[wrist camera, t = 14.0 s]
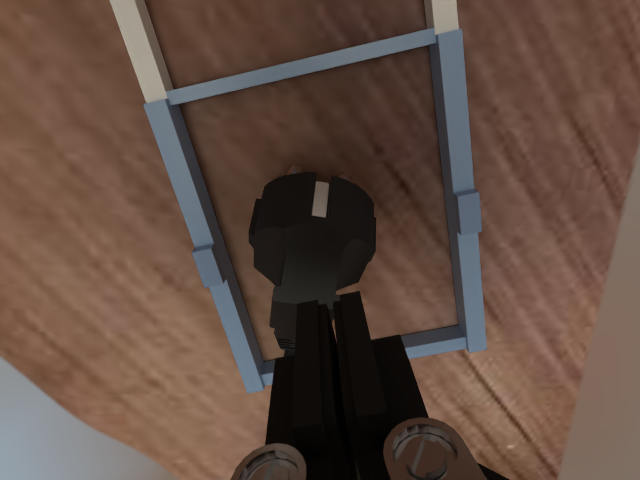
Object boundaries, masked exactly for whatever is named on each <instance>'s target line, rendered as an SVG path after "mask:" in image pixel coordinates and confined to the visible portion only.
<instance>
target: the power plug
mask: <svg viewBox="0 0 640 480" xmlns="http://www.w3.org/2000/svg"><path fill="white" fill-rule="evenodd" d="M315 180H316V173H315V172H304V173H302V169H301V167H300V166H298V165H291V166H290V167H289V168H288V170H287V175H285V176H282V177H279V178H277V179H275V180H273V181H271V182H270V183H268V184H267V185H266V186H265V187H264V191H263V195H262V199H256V202H255V206H254V210H253V215H252V219H251V224H250V228H249V243H250V245H251V246H252V247H253V248H254V267H255V268H256V269H257V270H258V271H259V272H261V273H262V274H263V275H264V276H265V277H267V278H268V279H269V280H270V281H271V282H272V283H273V284H274V285H275V287H274V290H273V297H272V306H271V315H270V327H272V328H275V331H274V334H275V337H276V339H277V342H278V344H279V347H280V348H281V349H283V350H285V352H284V357H286V356H292V355H295V337H296V316H297V304H298V303H302V302H307V301H312V300H317V299H318V301H319V305H320V304H325V303H327V306H328V310H329V314H330V318H331V322H332V321H333V319H334V311H333V302H335V301H340V295H336V294H335V293H336V291H337V290H339V289H342V288H344V287H347V286H349V285H352V284H355V283H357V282H359V280H360V278H361V276H362V274H363V272H364V270H365V268H366V266H367V264H368V262H370V261H371V259H372V258H373V256H374V254H375V252H376V217H374V203H373V202H372V200H371V198H370V197H369V196H368V194H367V193H366V192H365V191H363V190H362V189H361V188H360V187H358V186H357V185H355V184H353V183H352V177H351V176H350V175H349V174H348V173H341V174H340V175H339V176H338V177H337V176H332V179H331V183H325V182H319V181H315Z"/></svg>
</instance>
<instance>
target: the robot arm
mask: <svg viewBox="0 0 640 480" xmlns="http://www.w3.org/2000/svg"><path fill="white" fill-rule="evenodd" d="M333 311H334V320H335V330H336V338H335V334H334V330H333V326H332V322H331V318H330V314H329V310H328V306H327V303H325V304H320V305H319V301H318V299H317V300H312V301H307V302H302V303H298V304H297V316H296V337H295V355H292V356H286V357H281V358H277V359H276V360H275V364H274V372H273V381H272V390H271V398H270V407H269V416H268V425H267V434H266V442H265V446H263V447H260V448H258V449H256V450H254V451H253V452H251V453H250V454H249V455H248V456H246V457H245V458H244V459H243V460H242V462H241V463H240V464H239V465H238V466H237V468H236V469H235V472H234V474H233V476H232V478H231V480H359V476H358V471H359V475H360V479H361V480H509V479H507V478H505V477H503V476H501V475H499V474H498V473H496V472H494V471H492V470H490V469H488V468H486V467H484V466H482V465H481V464H479V463H477V462H476V460H475V459H474V457H473V456H472V454H471V452H470V451H469V449H468V447H467V446H466V444H465V442H464V441H463V439H462V438H461V437H460V435H459V434H458V433H457V432H456V431H455V429H453V428H452V427H450V426H449V425H447V424H446V423H444V422H442V421H439V420H436V419H433V418H429V417H428V414H427V411H426V408H425V405H424V402H423V399H422V397H421V394H420V391H419V388H418V385H417V382H416V379H415V376H414V373H413V370H412V367H411V365H410V362H409V359H408V356H407V353H406V350H405V347H404V344H403V341H402V339H401V336H400V335H395V336H390V337H385V338H380V339H374V340H371V339H370V334H369V330H368V325H367V321H366V317H365V312H364V308H363V304H362V299H361V295H360V291H357V292H352V293H347V294H342V295H340V301H335V302H333ZM336 340H337V342H336ZM357 467H358V468H357Z"/></svg>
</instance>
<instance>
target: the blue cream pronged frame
mask: <svg viewBox="0 0 640 480" xmlns="http://www.w3.org/2000/svg"><path fill="white" fill-rule="evenodd" d="M110 3H111V5H112V8H113V11H114V14H115V17H116V19H117V22H118V25H119V28H120V31H121V33H122V36H123V39H124V42H125V45H126V47H127V50H128V53H129V56H130V59H131V61H132V64H133V67H134V70H135V73H136V75H137V78H138V81H139V84H140V87H141V89H142V92H143V95H144V98H145V100H146V104H143V105H144V108H145V111H146V114H147V116H148V119H149V122H150V125H151V127H152V130H153V133H154V136H155V139H156V141H157V144H158V147H159V150H160V152H161V155H162V158H163V161H164V163H165V166H166V169H167V172H168V175H169V177H170V180H171V183H172V186H173V188H174V191H175V194H176V197H177V199H178V202H179V205H180V208H181V211H182V213H183V216H184V219H185V222H186V224H187V227H188V230H189V233H190V235H191V238H192V241H193V244H194V247H195V248H194V250H193V251H192V255H193V258H194V261H195V263H196V266H197V269H198V272H199V274H200V277H201V280H202V282H203V285H204V288H207V287H209V288H210V291H211V294H212V296H213V299H214V302H215V305H216V307H217V310H218V313H219V316H220V319H221V321H222V324H223V327H224V330H225V332H226V335H227V338H228V341H229V343H230V346H231V349H232V352H233V355H234V357H235V360H236V363H237V366H238V368H239V371H240V374H241V377H242V379H243V382H244V385H245V388H246V391H247V393H252V392H258V391H263V390H264V387H265V385H271V384H272V381H273V372H274V364H275V360H270V361H265V362H264V361H263V358H262V355H261V352H260V349H259V346H258V343H257V340H256V337H255V334H254V331H253V328H252V325H251V322H250V319H249V316H248V313H247V310H246V307H245V304H244V301H243V298H242V295H241V292H240V289H239V286H238V283H237V280H236V277H235V274H234V270H233V267H232V264H231V261H230V258H229V255H228V252H227V249H226V246H225V243H224V240H223V237H222V234H221V231H220V228H219V225H218V222H217V219H216V216H215V213H214V210H213V207H212V204H211V201H210V198H209V195H208V192H207V189H206V186H205V183H204V180H203V177H202V174H201V170H200V167H199V164H198V161H197V158H196V155H195V152H194V149H193V146H192V143H191V140H190V137H189V134H188V131H187V128H186V125H185V122H184V119H183V116H182V113H181V110H180V107H179V104H182V103H186V102H191V101H195V100H199V99H203V98H207V97H212V96H216V95H220V94H224V93H229V92H233V91H237V90H241V89H246V88H250V87H254V86H258V85H263V84H267V83H271V82H275V81H279V80H284V79H288V78H292V77H296V76H301V75H305V74H309V73H313V72H318V71H322V70H326V69H330V68H335V67H339V66H343V65H347V64H351V63H356V62H360V61H364V60H368V59H373V58H377V57H381V56H385V55H390V54H394V53H398V52H402V51H407V50H411V49H415V48H419V47H423V46H428V45H429V53H430V63H431V72H432V82H433V91H434V100H435V110H436V119H437V129H438V138H439V147H440V157H441V166H442V176H443V185H444V195H445V204H446V213H447V223H448V232H449V242H450V251H451V260H452V270H453V279H454V289H455V298H456V308H457V317H458V325H456V326H451V327H446V328H441V329H435V330H430V331H425V332H419V333H414V334H409V335H403V336H401V339H402V341H403V344H404V347H405V350H406V353H407V356H408V359H412V358H417V357H423V356H428V355H434V354H439V353H445V352H450V351H455V350H461V349H466V348H467V350H468V352H469V353H471V352H476V351H482V350H487V346H486V333H485V320H484V307H483V294H482V281H481V268H480V255H479V243H478V232H482V225H481V211H480V197H479V192H478V191H477V190H475V189H474V178H473V165H472V152H471V139H470V126H469V114H468V101H467V88H466V75H465V62H464V49H463V36H462V29H459V27H458V15H457V2H456V0H424V6H425V16H426V25H427V29H426V30H422V31H418V32H414V33H409V34H405V35H401V36H397V37H393V38H389V39H384V40H380V41H376V42H372V43H368V44H363V45H359V46H355V47H351V48H347V49H342V50H338V51H334V52H330V53H326V54H322V55H317V56H313V57H309V58H305V59H301V60H296V61H292V62H288V63H284V64H280V65H275V66H271V67H267V68H263V69H259V70H255V71H250V72H246V73H242V74H238V75H234V76H229V77H225V78H221V79H217V80H213V81H208V82H204V83H200V84H196V85H192V86H188V87H183V88H179V89H175V90H174V89H173V86H172V83H171V80H170V77H169V74H168V70H167V67H166V64H165V61H164V58H163V55H162V52H161V49H160V46H159V43H158V40H157V37H156V34H155V31H154V28H153V25H152V22H151V19H150V16H149V13H148V10H147V7H146V4H145V1H144V0H110Z"/></svg>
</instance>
